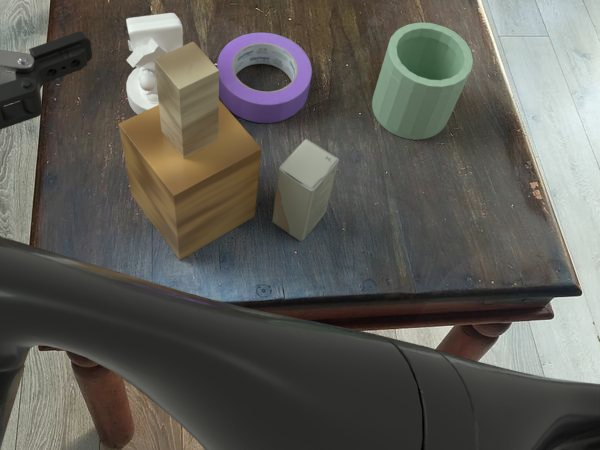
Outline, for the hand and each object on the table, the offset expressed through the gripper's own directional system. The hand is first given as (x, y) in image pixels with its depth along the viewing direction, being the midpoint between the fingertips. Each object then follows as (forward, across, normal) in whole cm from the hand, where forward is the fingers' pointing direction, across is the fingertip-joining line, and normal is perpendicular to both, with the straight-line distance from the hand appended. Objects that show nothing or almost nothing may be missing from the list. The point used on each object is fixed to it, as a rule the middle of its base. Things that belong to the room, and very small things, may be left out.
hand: (58, 1), depth 47 cm
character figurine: (+16, +14, +34) cm, 41 cm away
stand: (+11, -2, +34) cm, 35 cm away
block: (+10, -1, +21) cm, 23 cm away
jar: (+42, -4, +32) cm, 53 cm away
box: (+20, -9, +33) cm, 40 cm away
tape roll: (+28, +9, +34) cm, 44 cm away
